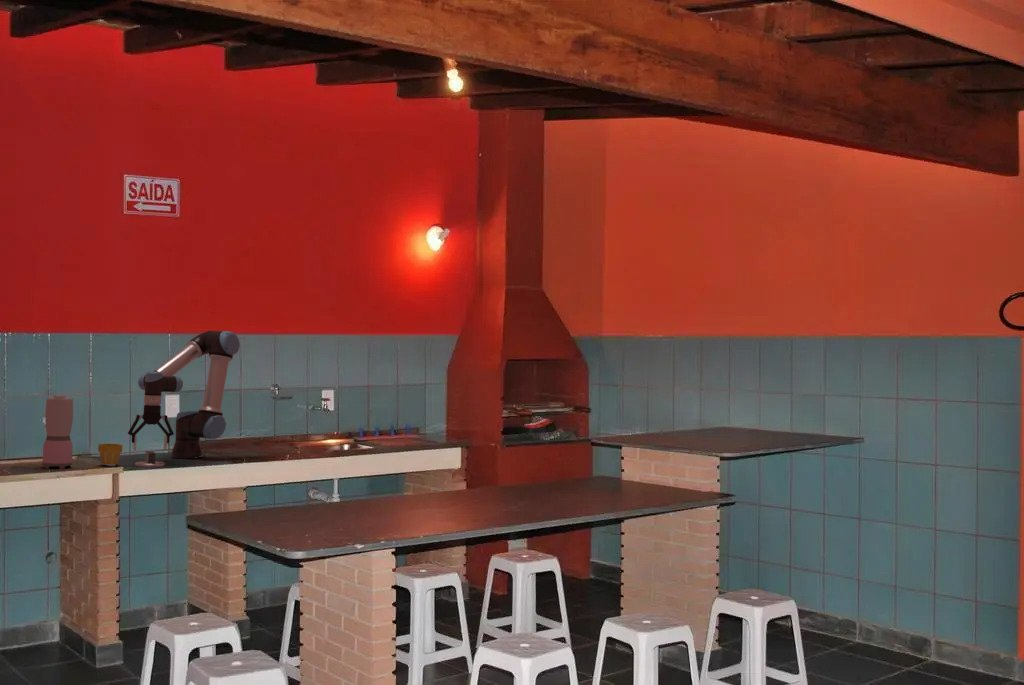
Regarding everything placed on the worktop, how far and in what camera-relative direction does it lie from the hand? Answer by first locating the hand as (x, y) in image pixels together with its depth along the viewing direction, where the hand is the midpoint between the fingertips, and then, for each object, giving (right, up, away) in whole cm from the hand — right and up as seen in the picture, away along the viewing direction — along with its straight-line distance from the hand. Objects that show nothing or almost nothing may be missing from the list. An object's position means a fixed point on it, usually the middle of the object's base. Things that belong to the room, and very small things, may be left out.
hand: (150, 450), depth 504 cm
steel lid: (0, -7, 0) cm, 7 cm away
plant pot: (-15, -6, -10) cm, 19 cm away
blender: (-34, -6, -22) cm, 41 cm away
